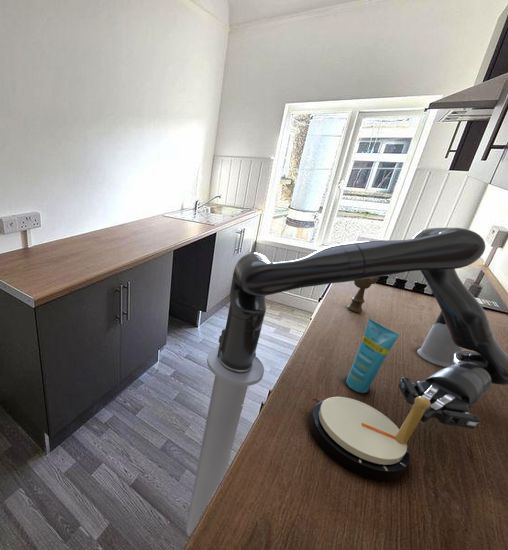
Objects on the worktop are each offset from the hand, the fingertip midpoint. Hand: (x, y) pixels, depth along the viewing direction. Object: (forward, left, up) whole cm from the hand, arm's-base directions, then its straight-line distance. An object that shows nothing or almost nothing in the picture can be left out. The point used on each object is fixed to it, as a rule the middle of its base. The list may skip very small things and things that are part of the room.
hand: (416, 415), depth 57 cm
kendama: (-40, +58, -11) cm, 72 cm away
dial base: (-6, -4, -11) cm, 13 cm away
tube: (-15, +14, -11) cm, 23 cm away
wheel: (-6, -4, -8) cm, 10 cm away
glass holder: (-11, +54, -11) cm, 56 cm away
